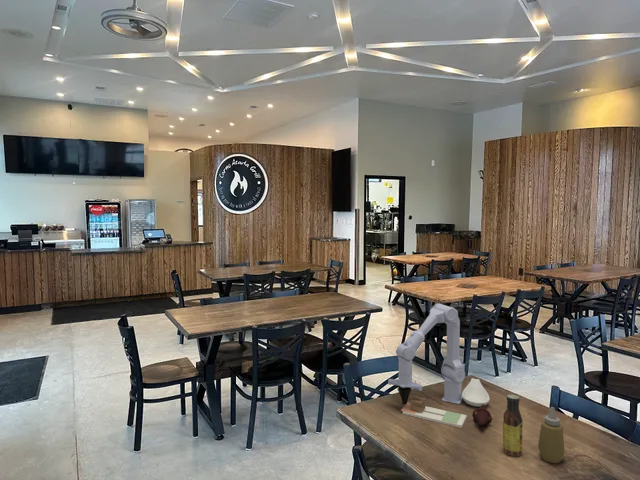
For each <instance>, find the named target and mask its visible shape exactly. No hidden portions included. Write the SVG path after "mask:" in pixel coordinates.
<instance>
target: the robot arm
mask: <svg viewBox="0 0 640 480" xmlns="http://www.w3.org/2000/svg"><path fill="white" fill-rule="evenodd" d="M441 323H442V324H443V323H445V324H446V358H445V359H444V360H442V365H441V369H440V371H441V372H440V373H441V374H442V376H443V379H444V388H443V389H444V392H443V393H444V394H443V397H442V398H441V401H443V402H447V403H452V404H457V405H461V403H462V401H463V398H462V392H463V381H464V380H465V378H466V372H465V368H464V364H463V362H462V361H461V360H460V342H461V341H460V340H461V339H460V337H461V336H460V333H461V330H460V328H461V320H460V317H459V311H458V310H457V309H456V308H455V307H453V306H448V305H445V304H442V303H435V304H434V305H433V306H432V308H431V309H430V311H429V315H428V316H427V317H426V319H425V320H424V321H423V323H422V324H421V325H420V327H419V328H418V330H414V331H412V332H410V335H409V336H408V337H407V338H406V340H404V342H403V343H400V344H399V345H398V346H397V348H396V350H395V354H396V356H397V359H398V368H397V369H398V374H397V375H398V378H397V379H396V378H395V379H394V378H389V379H388V381H387V382H388V383H387V384H388V386H389V385H391V386H392V385H393V386H398V387H397V391H398V393H399V396H400V398H401V403H402V405H404V406H405V405H406V404H407V402H408V400H409V396H410V393H411V392H412V390H416V391H418V392H421V391H423V384H419V383H416V382H413V359H414V358H415V356H416V352H417V349H418V348H420V346H421V345H422V344H423V342H425V335H427V334H428V333H429V332H430V330H432V329H433V328H434V327H435V326H436V325H437V324H441Z"/></svg>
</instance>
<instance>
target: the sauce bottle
mask: <svg viewBox="0 0 640 480" xmlns="http://www.w3.org/2000/svg"><path fill="white" fill-rule="evenodd" d="M519 405H520V396H518V395H515V394H507V395H506V410H505V411H504V412H503V421H502V447H503V448H502V450H503V452H504V453H505V455H509V456H513V457H519V456H521V455H522V453H523V452H522V451H523V424H524V423H523V418H522V415H521V412H520V406H519Z"/></svg>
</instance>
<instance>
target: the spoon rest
mask: <svg viewBox="0 0 640 480" xmlns="http://www.w3.org/2000/svg"><path fill="white" fill-rule="evenodd" d="M462 398H463V399H462V401H464V402H465V403H466V404H468V405H470V406H472V407H478V408H480V407H481V405H483V404H484V405H485V406H486V405H488V403H489V402H490V398H491V397H490V396H489V393H488V392H487V390H486V389H485V387H484V386H483V385H482V382H481V381H480V379H479V378H473V377H472V378H471V379H470V381H469V382H468V384H467V385H466V387H464V388H463V389H462Z"/></svg>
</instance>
